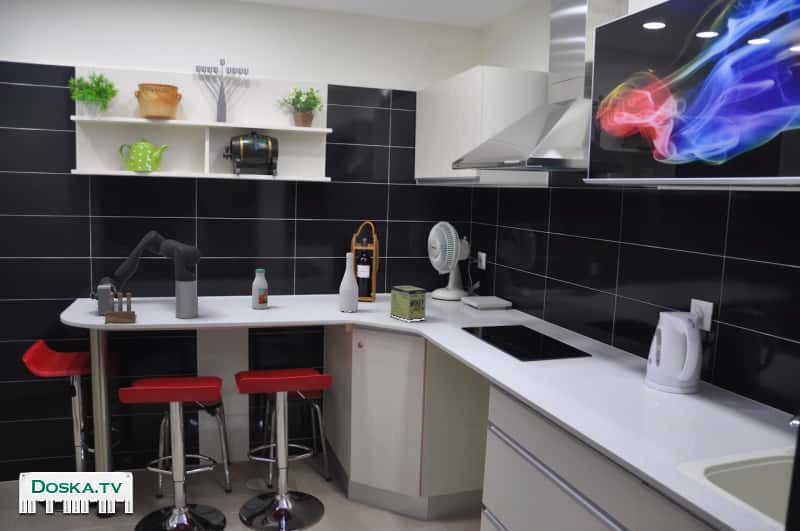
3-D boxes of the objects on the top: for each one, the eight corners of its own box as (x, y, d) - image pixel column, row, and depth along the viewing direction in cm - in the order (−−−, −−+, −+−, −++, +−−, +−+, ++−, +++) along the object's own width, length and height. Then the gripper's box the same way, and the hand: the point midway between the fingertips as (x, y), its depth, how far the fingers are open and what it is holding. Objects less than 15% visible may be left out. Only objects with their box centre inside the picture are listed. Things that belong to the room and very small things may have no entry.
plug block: (99, 311, 306) (98, 285, 305) (111, 310, 308) (110, 285, 306) (98, 313, 301) (97, 287, 300) (110, 312, 303) (109, 287, 302)
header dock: (108, 316, 301) (107, 289, 299) (136, 315, 305) (136, 288, 303) (105, 323, 286) (104, 295, 284) (134, 323, 290) (134, 294, 288)
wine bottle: (354, 313, 331) (356, 254, 327) (336, 312, 332) (338, 253, 329) (359, 310, 340) (361, 252, 336) (342, 308, 342) (343, 251, 338)
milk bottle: (252, 309, 330) (252, 270, 328) (251, 306, 338) (252, 268, 335) (268, 309, 333) (268, 270, 330) (266, 306, 340) (267, 268, 338)
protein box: (408, 322, 313) (409, 290, 311) (389, 317, 326) (390, 286, 324) (425, 321, 319) (427, 289, 318) (406, 315, 332) (407, 284, 330)
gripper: (90, 284, 314) (86, 290, 298) (123, 284, 319) (120, 289, 303) (90, 300, 315) (86, 306, 299) (123, 299, 320) (120, 305, 304)
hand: (103, 298), depth 301 cm, fingers closed on plug block, 5 cm apart
